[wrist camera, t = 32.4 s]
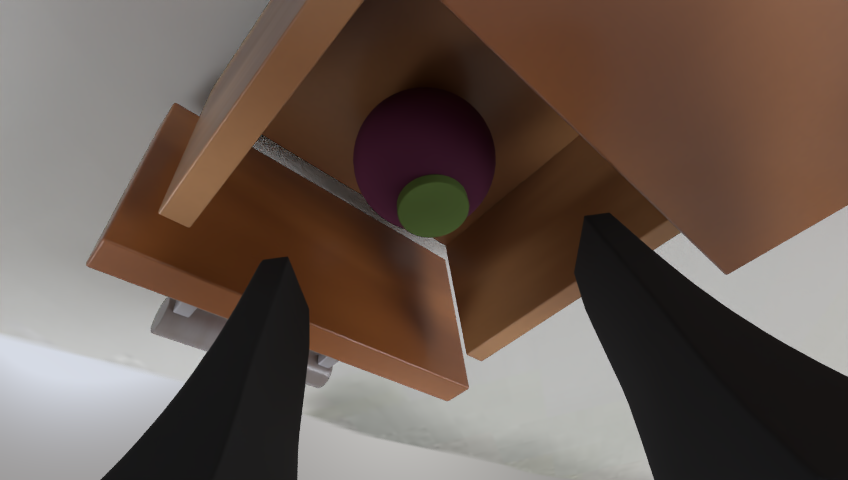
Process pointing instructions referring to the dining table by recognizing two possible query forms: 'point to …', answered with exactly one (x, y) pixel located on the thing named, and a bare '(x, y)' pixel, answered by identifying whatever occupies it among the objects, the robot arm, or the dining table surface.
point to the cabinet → (695, 104)
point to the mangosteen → (424, 160)
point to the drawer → (343, 223)
